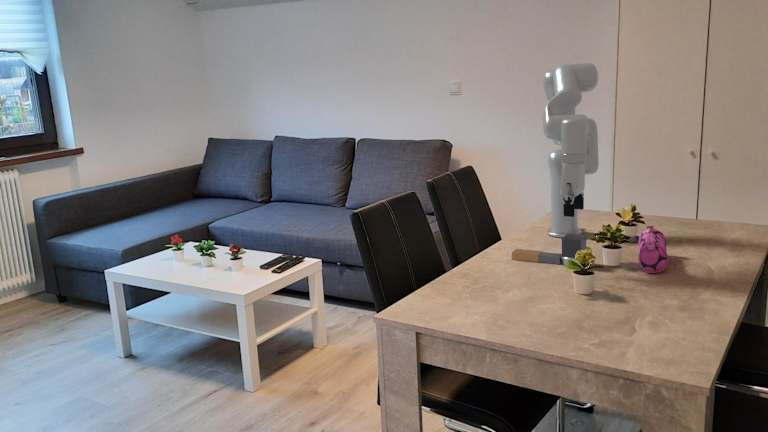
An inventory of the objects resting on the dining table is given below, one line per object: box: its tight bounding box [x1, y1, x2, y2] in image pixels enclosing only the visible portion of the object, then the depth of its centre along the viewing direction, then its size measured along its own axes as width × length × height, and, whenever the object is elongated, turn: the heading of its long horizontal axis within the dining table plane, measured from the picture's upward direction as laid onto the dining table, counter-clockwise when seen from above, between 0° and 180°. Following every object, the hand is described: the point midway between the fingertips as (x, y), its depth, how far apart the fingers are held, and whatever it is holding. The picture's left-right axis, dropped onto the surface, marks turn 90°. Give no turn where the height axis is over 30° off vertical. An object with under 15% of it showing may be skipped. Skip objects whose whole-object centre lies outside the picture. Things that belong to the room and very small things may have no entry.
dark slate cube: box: [561, 234, 587, 258], centre depth 208 cm, size 6×6×6 cm
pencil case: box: [633, 224, 670, 274], centre depth 204 cm, size 21×10×10 cm, turn 162°
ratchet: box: [511, 248, 575, 267], centre depth 213 cm, size 24×8×7 cm, turn 58°
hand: (573, 212), depth 206 cm, fingers open, 9 cm apart
